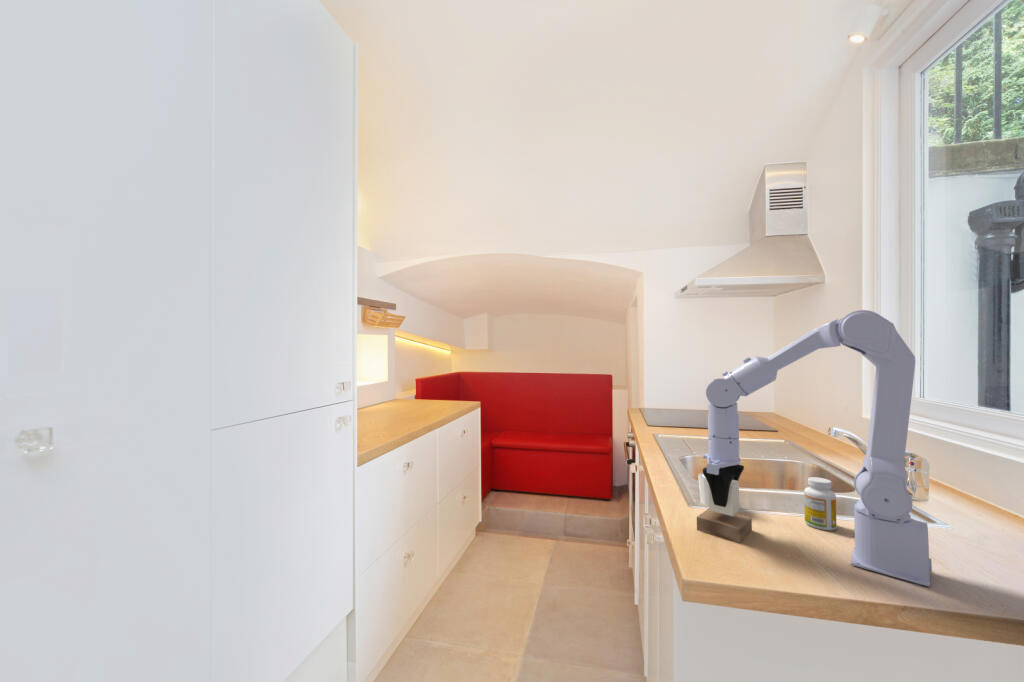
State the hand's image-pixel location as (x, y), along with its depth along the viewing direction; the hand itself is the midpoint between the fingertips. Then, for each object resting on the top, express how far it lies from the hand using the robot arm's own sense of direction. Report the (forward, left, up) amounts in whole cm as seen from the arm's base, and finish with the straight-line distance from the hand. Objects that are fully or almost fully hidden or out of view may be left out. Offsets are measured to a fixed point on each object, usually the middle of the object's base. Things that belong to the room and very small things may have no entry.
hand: (723, 502), depth 83 cm
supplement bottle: (-14, -17, -6) cm, 23 cm away
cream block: (0, 0, -2) cm, 2 cm away
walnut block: (0, 0, -6) cm, 6 cm away
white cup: (+6, -13, -6) cm, 15 cm away
